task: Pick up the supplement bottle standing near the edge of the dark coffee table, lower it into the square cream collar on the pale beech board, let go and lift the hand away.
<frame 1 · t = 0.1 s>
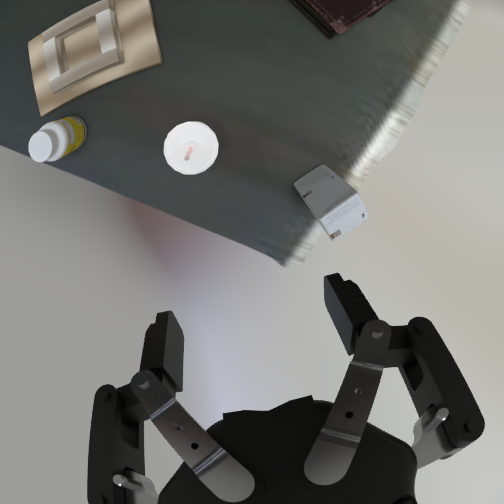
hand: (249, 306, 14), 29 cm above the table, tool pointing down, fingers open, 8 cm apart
socket board: (89, 48, 25), on the table
skincare box: (313, 184, 42), on the table
beverage cup: (195, 136, 36), on the table
supplement bottle: (73, 132, 32), on the table
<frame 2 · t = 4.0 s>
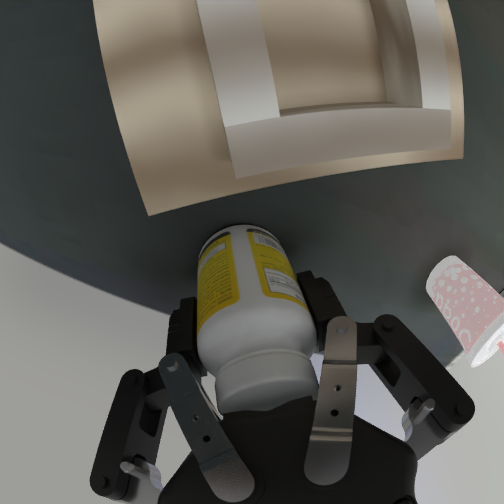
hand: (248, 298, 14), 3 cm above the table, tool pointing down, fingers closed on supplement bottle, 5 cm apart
socket board: (310, 45, 11), on the table
beverage cup: (442, 274, 22), on the table
supplement bottle: (241, 259, 18), on the table, touching gripper
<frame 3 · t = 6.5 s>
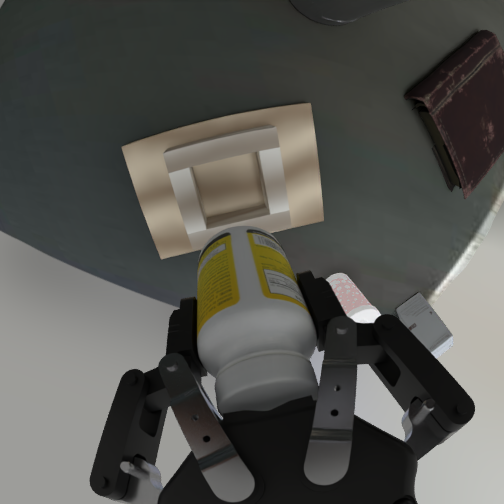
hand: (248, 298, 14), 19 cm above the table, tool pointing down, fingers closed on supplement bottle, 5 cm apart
socket board: (228, 179, 30), on the table
diary: (468, 105, 28), on the table
skincare box: (408, 305, 46), on the table
beverage cup: (335, 284, 40), on the table
supplement bottle: (241, 259, 18), point 15 cm above the table, touching gripper
when the fingers open (6 cm above the table, at t = 9.1 s): supplement bottle drops 1 cm, resting on socket board.
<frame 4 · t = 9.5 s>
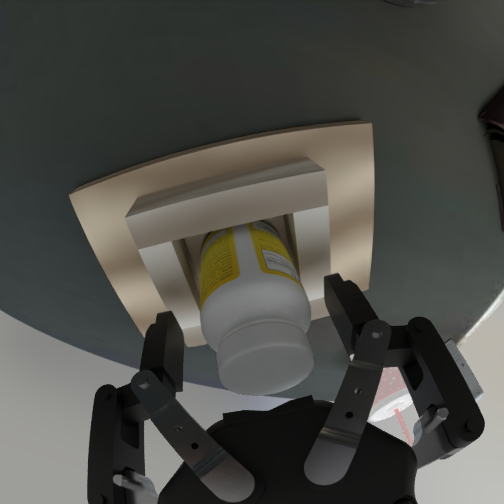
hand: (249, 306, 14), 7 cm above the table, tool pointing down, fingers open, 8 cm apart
socket board: (237, 238, 20), on the table
skincare box: (437, 352, 37), on the table
beverage cup: (366, 347, 31), on the table
supplement bottle: (241, 246, 19), point 1 cm above the table, touching socket board
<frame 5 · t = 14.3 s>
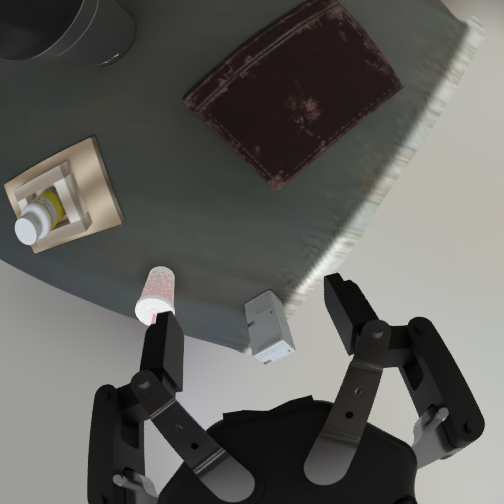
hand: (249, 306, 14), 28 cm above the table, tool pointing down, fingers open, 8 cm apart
socket board: (59, 198, 36), on the table
diary: (295, 85, 33), on the table
skincare box: (262, 302, 52), on the table
beverage cup: (161, 276, 46), on the table
supplement bottle: (56, 201, 34), point 1 cm above the table, touching socket board
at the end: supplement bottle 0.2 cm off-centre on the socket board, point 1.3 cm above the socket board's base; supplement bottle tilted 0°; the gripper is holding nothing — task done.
